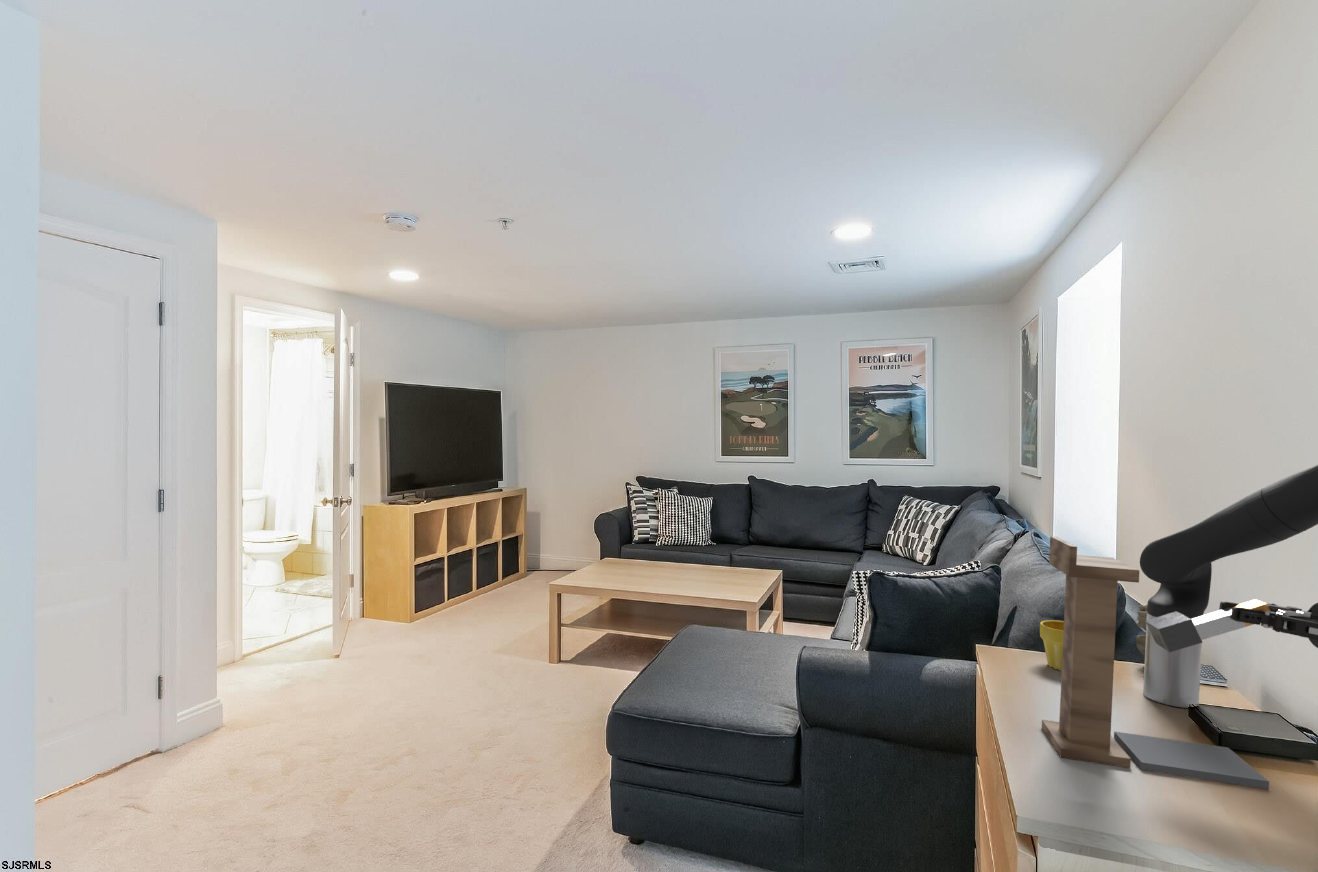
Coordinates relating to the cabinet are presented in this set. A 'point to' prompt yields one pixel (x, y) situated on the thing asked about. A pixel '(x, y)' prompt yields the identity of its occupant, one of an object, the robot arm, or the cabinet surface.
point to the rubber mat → (1189, 760)
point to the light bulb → (1142, 638)
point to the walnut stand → (1087, 656)
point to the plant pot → (1053, 641)
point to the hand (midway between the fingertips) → (1227, 610)
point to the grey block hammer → (1196, 626)
